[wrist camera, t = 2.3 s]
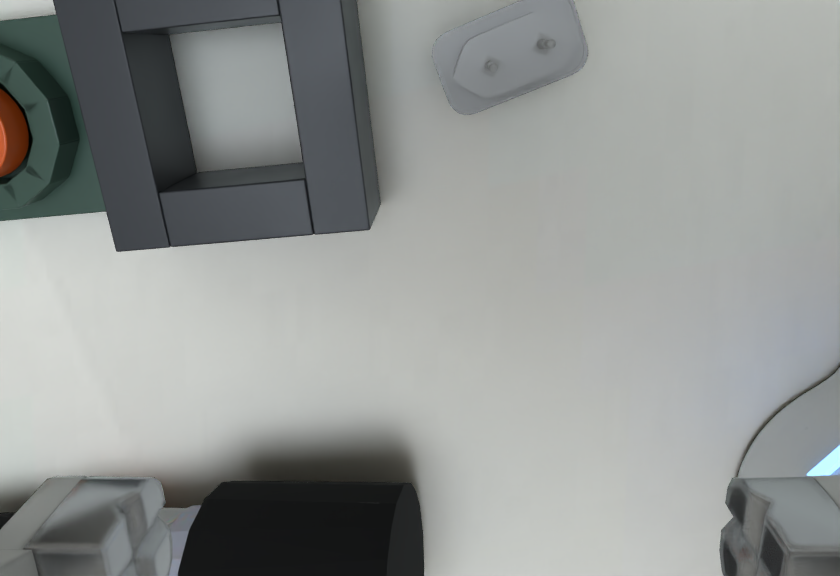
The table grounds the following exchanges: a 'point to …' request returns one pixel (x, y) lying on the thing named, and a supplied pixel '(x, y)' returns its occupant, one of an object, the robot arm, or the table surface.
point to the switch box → (45, 126)
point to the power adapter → (509, 53)
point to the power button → (11, 135)
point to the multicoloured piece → (297, 530)
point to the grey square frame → (168, 134)
